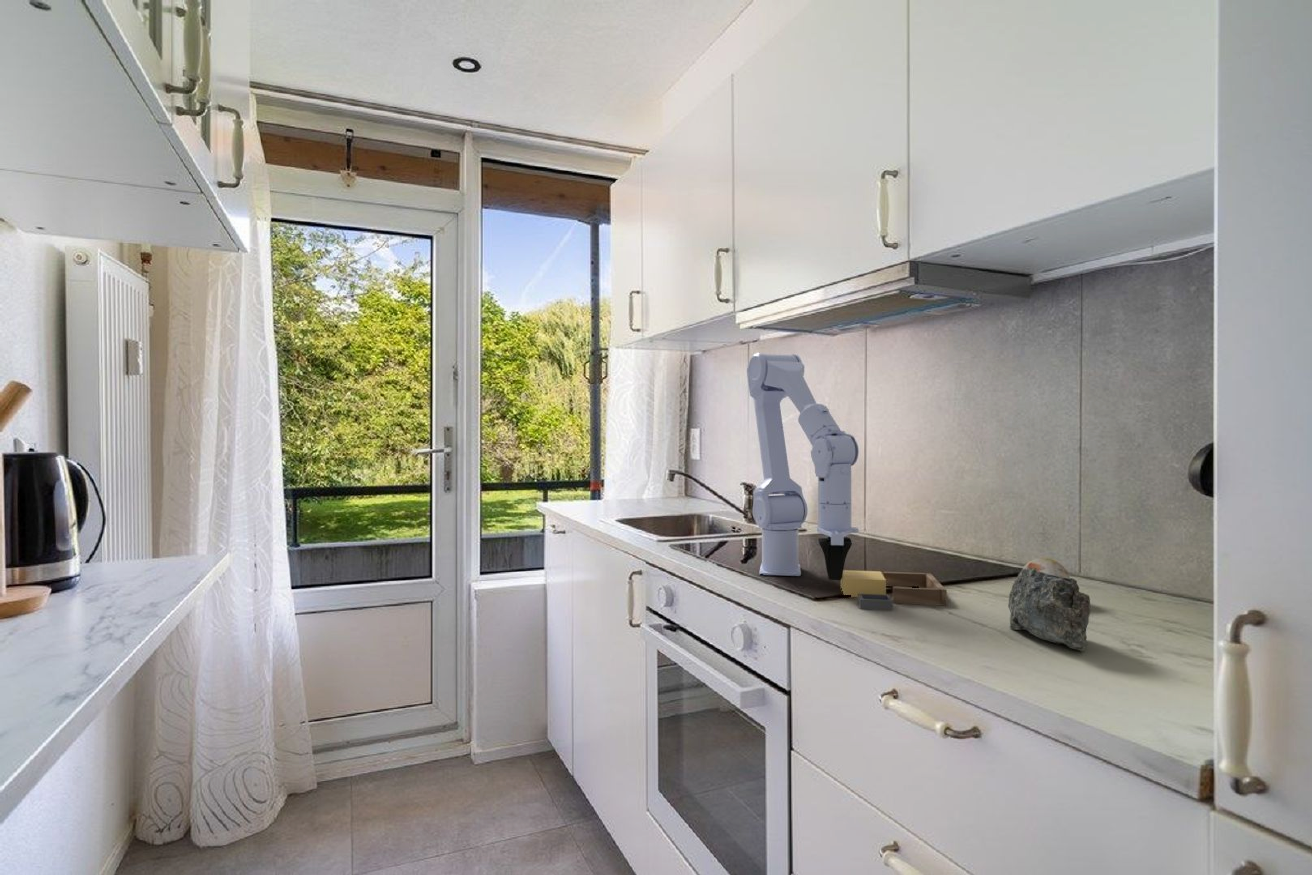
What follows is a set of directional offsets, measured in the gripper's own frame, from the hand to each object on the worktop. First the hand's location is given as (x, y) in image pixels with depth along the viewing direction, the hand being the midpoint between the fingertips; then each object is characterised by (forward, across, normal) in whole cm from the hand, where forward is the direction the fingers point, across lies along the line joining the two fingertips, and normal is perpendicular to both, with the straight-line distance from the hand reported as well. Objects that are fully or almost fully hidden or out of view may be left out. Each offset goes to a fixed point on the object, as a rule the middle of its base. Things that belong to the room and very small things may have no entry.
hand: (834, 579), depth 122 cm
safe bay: (+2, 0, -13) cm, 13 cm away
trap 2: (+2, -9, -6) cm, 11 cm away
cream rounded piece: (+3, -3, -34) cm, 34 cm away
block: (+3, 0, -5) cm, 5 cm away
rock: (+2, -23, -26) cm, 35 cm away
